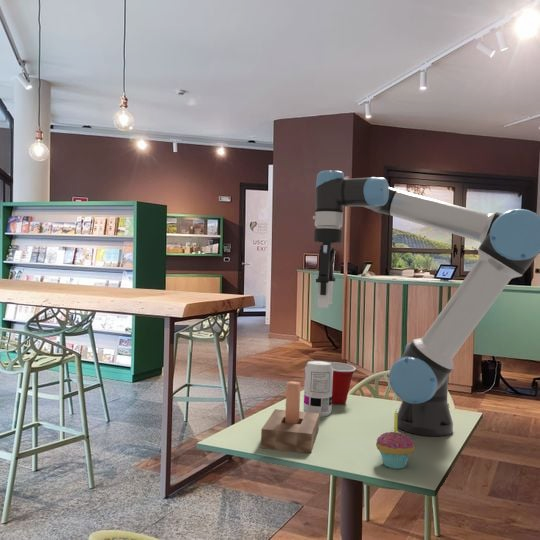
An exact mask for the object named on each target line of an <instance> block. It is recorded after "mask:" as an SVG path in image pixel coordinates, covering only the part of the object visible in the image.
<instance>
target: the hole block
mask: <svg viewBox="0 0 540 540" xmlns="http://www.w3.org/2000/svg"><path fill="white" fill-rule="evenodd" d="M285 412H286V409H278V408H277V409H274V410H273V411H272V413H271V414H270V416H269V417H268V419H267V421H266V422H265V423H264V425H263V426H262V427H261V430H260V432H261V433H260V435H261V437H260V448H261V449H267V450H268V449H269V450H279V451H287V452H296V453H297V452H298V453H306V454H309V453H310V454H311V453H312V451H313V448H314V445H315V442H316V439H317V436H318V433H319V432H320V431H319V430H320V429H319V428H320V417H319V413H311V412H304V411H301V410H300V411H299V424H290V423H285Z"/></svg>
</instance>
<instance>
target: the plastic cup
mask: <svg viewBox="0 0 540 540" xmlns="http://www.w3.org/2000/svg"><path fill="white" fill-rule="evenodd" d="M329 362H330V363H331V366H332V368H333V384H332V405H345V404H346V403H347V399H348V394H349V391H350V386H351V382H352V378H353V375H354V373H355V372H356V367H355V366H353V365H351V364H349V363H344V362H336V361H329Z"/></svg>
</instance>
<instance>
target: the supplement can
mask: <svg viewBox="0 0 540 540" xmlns="http://www.w3.org/2000/svg"><path fill="white" fill-rule="evenodd" d="M330 362H331V361H325V360H309V361H307V363H306V365H305V367H304V385H303V386H304V389H303V390H304V391H303V392H304V394H303V412H311V413H319V418H321V417H322V418H323V417H327V416H329V415H330V414H331V413H332V408H333V407H332V405H333V404H332V384H333V368H332V366H331V363H330Z"/></svg>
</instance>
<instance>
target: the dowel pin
mask: <svg viewBox="0 0 540 540" xmlns="http://www.w3.org/2000/svg"><path fill="white" fill-rule="evenodd" d="M285 387H286V392H285V410H286V412H285V423H290V424H299V411H300V412H301V409H300V408H301V407H300V406H301V405H300V403H301V382H298V381H286V386H285Z"/></svg>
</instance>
